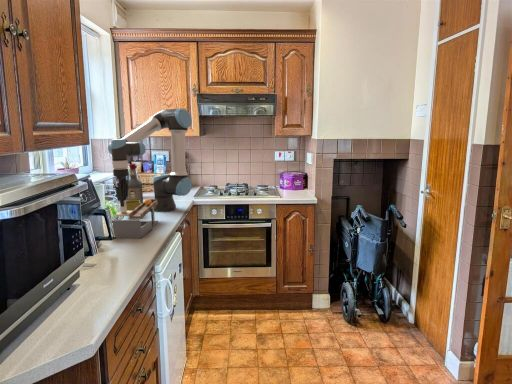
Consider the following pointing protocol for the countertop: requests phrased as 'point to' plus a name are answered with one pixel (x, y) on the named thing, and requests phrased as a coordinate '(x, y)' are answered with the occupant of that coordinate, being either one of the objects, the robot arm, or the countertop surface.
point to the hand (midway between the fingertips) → (123, 212)
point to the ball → (147, 202)
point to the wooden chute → (139, 210)
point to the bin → (131, 228)
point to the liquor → (134, 186)
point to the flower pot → (132, 205)
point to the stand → (151, 218)
